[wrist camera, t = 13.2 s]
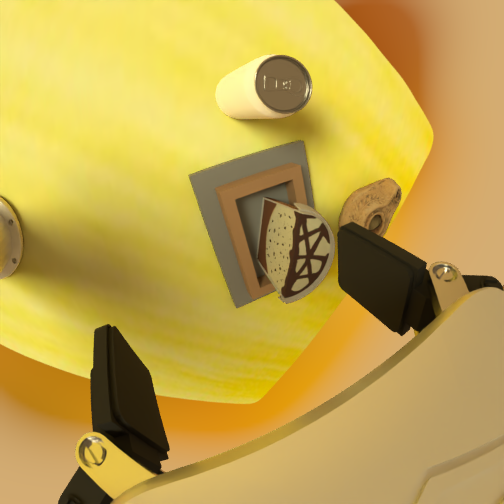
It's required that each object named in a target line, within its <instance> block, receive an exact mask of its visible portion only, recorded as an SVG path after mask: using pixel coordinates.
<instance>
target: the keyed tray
mask: <svg viewBox="0 0 504 504" xmlns="http://www.w3.org/2000/svg"><path fill="white" fill-rule="evenodd" d="M189 178H190V181H191V184H192V187H193V190H194V193H195V196H196V199H197V202H198V205H199V208H200V211H201V214H202V217H203V220H204V222H205V225H206V228H207V231H208V234H209V237H210V239H211V242H212V245H213V248H214V251H215V253H216V256H217V259H218V262H219V264H220V267H221V270H222V273H223V275H224V278H225V281H226V283H227V286H228V289H229V291H230V294H231V297H232V299H233V302H234V304H235V306H236V308H239V307H241V306H243V305H246V304H248V303H250V302H252V301H254V300H257V299H259V298H261V297H263V296H265V295H268V294H270V293H272V292H274V291H276V289H275V287H274V286H273V284H272V283H271V281H270V280H269V278H268V277H267V275H266V274H265V272H264V271H263V269H262V268H261V266H260V265H259V263H258V262H257V260H256V253H257V245H258V236H259V227H260V219H261V210H262V202H263V197H269V198H273V199H276V200H278V201H281V202H284V203H286V204H289V205H292V206H294V207H296V206H295V205H294V203H301V204H304V205H308V206H310V207H311V208H313V209H314V202H313V195H312V189H311V182H310V176H309V170H308V164H307V159H306V153H305V147H304V142H303V141H301V140H299V141H295V142H291V143H287V144H284V145H280V146H276V147H273V148H269V149H266V150H262V151H259V152H256V153H252V154H249V155H246V156H243V157H239V158H236V159H233V160H230V161H227V162H224V163H221V164H218V165H215V166H212V167H210V168H207V169H204V170H201V171H198V172H196V173H193V174H190V175H189Z"/></svg>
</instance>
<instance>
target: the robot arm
mask: <svg viewBox="0 0 504 504" xmlns="http://www.w3.org/2000/svg"><path fill="white" fill-rule="evenodd" d="M12 220H13V221H12ZM337 237H338V282H339V285H340V287H341V288H342V289H343V290H344V291H345V292H346V293H347V294H349V295H350V296H351V297H352V298H353V299H355V300H356V301H357V302H358V303H359V304H361V305H362V306H363V307H364V308H365V309H367V310H368V311H369V312H370V313H371V314H373V315H374V316H375V317H376V318H378V319H379V320H380V321H381V322H382V323H383V324H384V325H386V326H387V327H388V328H389V329H390V330H392V331H393V332H397V333H398V334H400V335H401V336H403V335H404V334H405V333H406V332H407V331H409V330H410V327H412V328H413V329H414V333H415V337H414V338H413V339H412V340H411V341H410V342H408V343H407V344H406V345H405V346H404V347H402V348H401V349H400V350H399V351H397V352H396V353H395V354H394V355H393V356H391V357H390V358H389V359H387V360H386V361H385V362H384V363H382V364H381V365H380V366H378V367H377V368H376V369H374V370H373V371H372V372H370V373H369V374H367V375H366V376H365V377H363V378H362V379H360V380H359V381H357V382H356V383H354V384H353V385H352V386H350V387H349V388H347V389H346V390H344V391H342V392H341V393H339V394H338V395H336V396H335V397H333V398H331V399H330V400H328V401H327V402H325V403H323V404H322V405H320V406H318V407H317V408H315V409H313V410H311V411H310V412H308V413H306V414H305V415H303V416H301V417H299V418H297V419H295V420H294V421H292V422H290V423H288V424H286V425H284V426H282V427H280V428H278V429H276V430H274V431H272V432H270V433H268V434H266V435H263V436H261V437H259V438H257V439H255V440H252V441H250V442H248V443H246V444H243V445H241V446H239V447H236V448H234V449H231V450H229V451H227V452H224V453H221V454H218V455H216V456H213V457H211V458H208V459H205V460H202V461H200V462H196V463H194V464H191V465H187V466H184V467H181V468H178V469H175V470H172V471H169V472H164V471H163V470H161V463H160V461H163V460H166V459H168V455H167V451H169V450H170V449H169V444H168V441H167V437H166V435H165V431H164V427H163V423H162V420H161V416H160V413H159V408H158V404H157V400H156V396H155V392H154V387H153V383H152V378H151V375H150V372H149V370H148V369H147V368H146V366H145V365H144V364H143V363H142V361H141V360H140V359H139V357H138V356H137V355H136V354H135V352H134V351H133V350H132V348H131V347H130V346H129V344H128V343H127V341H126V340H125V339H124V337H123V336H122V335H121V333H120V332H119V330H118V329H117V328H116V327H115V326H113V327H111V326H110V325H109V324H107V325H105V326H102V327H100V328H97V329H95V332H94V356H93V368H92V370H91V411H92V425H93V432H90V433H87V434H85V435H83V436H82V437H81V438H80V439H79V441H78V443H77V445H76V449H75V457H76V460H77V462H78V464H79V465H80V467H79V468H78V470H77V471H76V473H75V474H74V476H73V477H72V479H71V481H70V482H69V484H68V485H67V487H66V489H65V490H64V492H63V493H62V495H61V496H60V499H59V501H58V504H504V285H503V286H502V285H501V283H500V282H499V281H498V280H497V279H496V278H494V277H491V276H475V275H461V273H460V271H459V270H458V268H456V267H455V266H454V265H452V264H450V263H447V262H435V263H433V264H432V265H431V266H430V268H429V271H428V270H427V269H426V264H427V263H426V262H425V261H423V260H421V259H419V258H417V257H416V256H414V255H413V254H411V253H409V252H407V251H406V250H404V249H402V248H400V247H399V246H397V245H395V244H394V243H392V242H390V241H388V240H386V239H385V238H383V237H381V236H379V235H377V234H375V233H374V232H372V231H370V230H368V229H366V228H364V227H362V226H360V225H359V224H357V223H355V222H350V223H348V224H345V225H343V226H341V227H340V229H339V232H338V234H337ZM22 253H23V236H22V230H21V227H20V223H19V221H18V218H17V216H16V214H15V213H14V211H13V209H12V208H11V206H10V205H9V204H8V203H7V202H6V201H5V200H4V199H3V198H1V197H0V279H4V278H6V277H9V276H10V275H11V274H12V273H13V272H14V271H15V269H16V268H17V266H18V265H19V263H20V260H21V257H22Z"/></svg>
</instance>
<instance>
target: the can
mask: <svg viewBox="0 0 504 504" xmlns="http://www.w3.org/2000/svg"><path fill="white" fill-rule="evenodd" d="M311 94H312V81H311V77H310V75H309V73H308V71H307V69H306V68H305V67H304V65H303V64H302V63H300V62H299V61H298V60H296V59H294V58H292V57H290V56H286V55H265V56H262V57H259V58H257V59H255V60H253V61H251V62H249V63H247V64H245V65H243V66H242V67H240V68H238V69H236V70H234V71H233V72H231V73H229V74H228V75H226V76H225V77H224V78H223V79H222V80H221V81H220V82H219V84H218V86H217V88H216V102H217V104H218V106H219V108H220V109H221V111H222V112H223V113H225V114H226V115H228V116H229V117H232V118H235V119H272V118H284V117H287V116H290V115H292V114H294V113H295V112H297V111H299V110H301V109H302V108H303V107H304V106H305V105H306V104H307V103H308V101H309V99H310V97H311Z"/></svg>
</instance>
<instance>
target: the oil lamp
mask: <svg viewBox="0 0 504 504" xmlns="http://www.w3.org/2000/svg"><path fill="white" fill-rule="evenodd" d="M401 194H402V193H401V188H400V187H399V185H398V184H397V183H396V182H395V181H394V180H393V179H390V178H386V179H382V180H379V181H377V182H374V183H372V184H369V185H367V186H365V187H362V188H360V189H358V190H356V191H355V192H353V193H352V194H351V195H350V196H349V197H348V199H347V200H346V202H345V204H344V206H343V208H342V211H341V214H340V217H339V229H340V227H341V226H343V225H345V224H348V223H350V222H355V223H357V224H359V225H360V226H362V227H364V228H366V229H368V230H370V231H372V232H374V233H375V234H377V235H379V236H381V237H383V235H384V234H385V232H386V230H387V228H388V226H389V223H390V220H391V218H392V216H393V214H394V212H395V210H396V208H397V207H398V204H399V202H400V200H401Z"/></svg>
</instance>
